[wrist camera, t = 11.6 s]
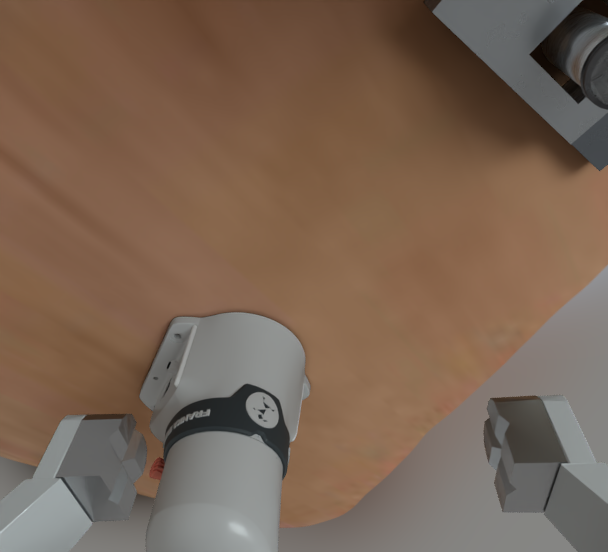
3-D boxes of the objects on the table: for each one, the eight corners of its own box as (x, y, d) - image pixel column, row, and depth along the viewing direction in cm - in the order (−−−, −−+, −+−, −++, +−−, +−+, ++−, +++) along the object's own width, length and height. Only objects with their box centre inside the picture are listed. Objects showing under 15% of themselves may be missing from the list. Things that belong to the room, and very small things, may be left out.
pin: (566, 81, 40) (619, 123, 33) (523, 47, 38) (568, 84, 31) (617, 26, 37) (685, 59, 30) (573, -12, 36) (634, 13, 29)
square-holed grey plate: (590, 161, 44) (609, 181, 41) (423, 2, 37) (431, 12, 34) (707, 65, 39) (737, 79, 36) (539, -141, 32) (560, -144, 29)
